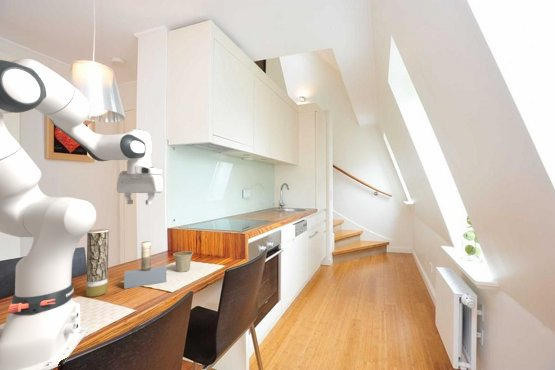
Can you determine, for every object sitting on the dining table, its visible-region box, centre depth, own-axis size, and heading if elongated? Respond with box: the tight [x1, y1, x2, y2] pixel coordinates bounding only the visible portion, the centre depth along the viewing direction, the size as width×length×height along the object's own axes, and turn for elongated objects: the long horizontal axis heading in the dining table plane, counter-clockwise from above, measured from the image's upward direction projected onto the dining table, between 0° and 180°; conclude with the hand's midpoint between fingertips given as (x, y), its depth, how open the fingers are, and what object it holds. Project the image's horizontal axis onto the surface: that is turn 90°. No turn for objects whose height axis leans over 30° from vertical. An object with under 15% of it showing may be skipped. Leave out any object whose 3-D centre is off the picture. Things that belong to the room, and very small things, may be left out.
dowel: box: [140, 240, 152, 271], centre depth 108 cm, size 4×4×12 cm
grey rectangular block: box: [123, 265, 167, 290], centre depth 108 cm, size 16×4×6 cm, turn 119°
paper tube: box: [85, 228, 110, 298], centre depth 98 cm, size 7×7×25 cm
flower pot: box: [172, 250, 194, 273], centre depth 126 cm, size 9×9×9 cm
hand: (139, 204), depth 101 cm, fingers open, 8 cm apart
